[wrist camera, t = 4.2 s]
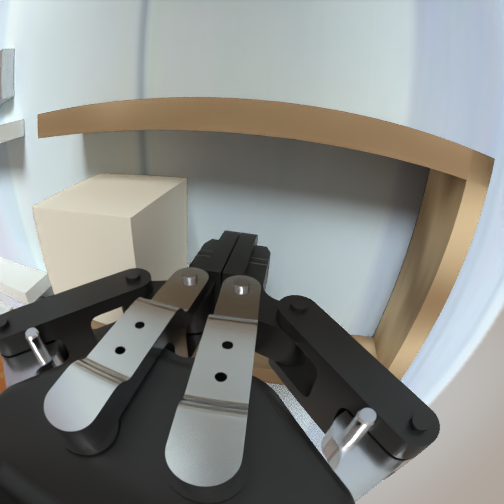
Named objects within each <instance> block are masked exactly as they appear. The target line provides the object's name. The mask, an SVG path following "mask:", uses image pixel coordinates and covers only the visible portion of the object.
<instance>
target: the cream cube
mask: <svg viewBox="0 0 504 504" xmlns="http://www.w3.org/2000/svg"><path fill="white" fill-rule="evenodd" d="M32 210H33V215H34V220H35V225H36V230H37V234H38V239H39V243H40V247H41V251H42V255H43V259H44V262H45V266H46V269H47V273H48V276H49V279H50V283H51V286H52V289H53V292H54V295H55V294H58V293H61V292H64V291H66V290H69V289H72V288H75V287H78V286H81V285H84V284H86V283H89V282H92V281H95V280H98V279H101V278H104V277H107V276H110V275H113V274H116V273H118V272H121V271H124V270H128V269H132V268H141V269H144V270H147V271H148V272H149V273H150V274H151V280H152V281H165V280H168V279H169V278H170V277H171V276H172V274H173V273H174V272H176V271H177V270H179V269H182V268H187V267H188V248H187V178H179V177H165V176H150V175H131V174H107V173H99V174H97V175H95V176H93V177H90V178H88V179H86V180H84V181H82V182H80V183H77V184H75V185H73V186H71V187H69V188H67V189H65V190H63V191H61V192H59V193H57V194H55V195H53V196H51V197H49V198H47V199H45V200H44V201H42V202H40V203H38V204H36V205H34V206H32ZM122 315H123V311H122V307H120V308H117V309H114V310H112V311H109V312H106V313H104V314H101V315H99V316H96V317H95V318H94V319H93V320H95V321H98V322H101V323H104V324H107V325H108V324H110V323H113V322H115V321H118V320H119V318H120V317H121V316H122Z"/></svg>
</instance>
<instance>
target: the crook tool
mask: <svg viewBox="0 0 504 504" xmlns="http://www.w3.org/2000/svg"><path fill="white" fill-rule="evenodd" d="M12 97H14V49H2V50H1V51H0V106H1V105H2V104H3V103H5V102H6V101H8V100H9V99H11V98H12Z"/></svg>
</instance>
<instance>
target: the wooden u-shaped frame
mask: <svg viewBox="0 0 504 504" xmlns="http://www.w3.org/2000/svg"><path fill="white" fill-rule="evenodd" d="M128 130H191V131H214V132H229V133H242V134H253V135H263V136H272V137H280V138H288V139H296V140H303V141H309V142H316V143H322V144H328V145H333V146H339V147H344V148H349V149H354V150H359V151H364V152H369V153H373V154H378V155H382V156H386V157H390V158H394V159H398V160H402V161H406V162H410V163H414V164H417V165H421V166H424V167H428V168H430V171H429V176H428V180H427V184H426V189H425V193H424V197H423V200H422V204H421V208H420V212H419V215H418V219H417V222H416V225H415V229H414V232H413V235H412V238H411V242H410V245H409V248H408V251H407V254H406V257H405V260H404V262H403V265H402V268H401V271H400V274H399V276H398V279H397V282H396V284H395V287H394V289H393V292H392V294H391V297H390V299H389V302H388V304H387V307H386V309H385V311H384V314H383V316H382V318H381V321H380V323H379V325H378V327H377V330H376V332H375V334H374V336H373V337H365V336H355V335H351V336H352V337H353V338H354V339H355V340H356V341H357V342H359V343H360V344H361V345H362V346H363V347H364V348H365V349H366V350H367V351H368V352H369V353H370V354H372V355H373V356H374V357H375V358H376V359H377V360H378V361H379V362H380V363H381V364H382V365H384V366H385V367H386V368H387V369H388V370H389V371H390V372H391V373H392V374H393V375H394V376H395V377H397V378H398V379H399V380H401V379H402V377H403V376H404V374H405V373H406V371H407V369H408V368H409V366H410V365H411V363H412V362H413V360H414V358H415V357H416V355H417V354H418V352H419V350H420V349H421V347H422V345H423V344H424V342H425V340H426V338H427V337H428V335H429V333H430V331H431V330H432V328H433V326H434V324H435V322H436V320H437V318H438V317H439V315H440V313H441V311H442V309H443V307H444V305H445V303H446V301H447V299H448V296H449V294H450V292H451V290H452V288H453V286H454V284H455V281H456V279H457V277H458V274H459V272H460V270H461V267H462V265H463V262H464V260H465V257H466V255H467V252H468V250H469V247H470V244H471V242H472V239H473V236H474V233H475V230H476V227H477V224H478V221H479V218H480V215H481V212H482V208H483V205H484V201H485V198H486V194H487V190H488V186H489V182H490V178H491V174H492V169H493V165H494V160H495V159H494V158H491V157H489V156H487V155H484V154H482V153H480V152H477V151H475V150H472V149H470V148H468V147H465V146H462V145H460V144H457V143H454V142H452V141H449V140H446V139H443V138H440V137H438V136H435V135H432V134H429V133H425V132H422V131H419V130H416V129H412V128H409V127H406V126H402V125H398V124H395V123H391V122H387V121H383V120H379V119H375V118H371V117H367V116H362V115H358V114H353V113H348V112H343V111H338V110H332V109H326V108H320V107H314V106H308V105H300V104H293V103H285V102H276V101H265V100H253V99H238V98H214V97H175V98H151V99H136V100H125V101H115V102H106V103H99V104H91V105H85V106H78V107H72V108H67V109H61V110H56V111H52V112H47V113H42V114H38V138H45V137H52V136H60V135H69V134H80V133H92V132H106V131H128ZM105 325H107V324H104V323H101V322H98V321H95V320H92V322H91V327H92V329H97V328H100V327H103V326H105ZM252 375H253V376H255V377H257V378H259V379H260V380H262V381H263V382H267V383H274V384H281V385H285V384H284V383H283V382H282V381H281V379H280V378H279V377H278V375H277V374H276V373H275V372H274V370H273V369H272V368H271V366H270V364H269V358H267V357H265V356H263V355H260V354H258V353H256V352H254V361H253V370H252Z"/></svg>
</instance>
